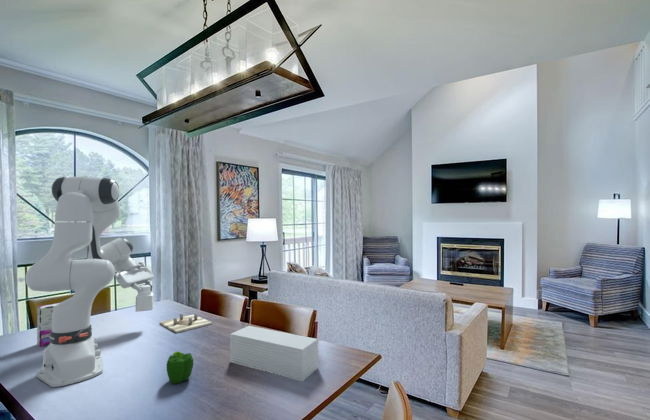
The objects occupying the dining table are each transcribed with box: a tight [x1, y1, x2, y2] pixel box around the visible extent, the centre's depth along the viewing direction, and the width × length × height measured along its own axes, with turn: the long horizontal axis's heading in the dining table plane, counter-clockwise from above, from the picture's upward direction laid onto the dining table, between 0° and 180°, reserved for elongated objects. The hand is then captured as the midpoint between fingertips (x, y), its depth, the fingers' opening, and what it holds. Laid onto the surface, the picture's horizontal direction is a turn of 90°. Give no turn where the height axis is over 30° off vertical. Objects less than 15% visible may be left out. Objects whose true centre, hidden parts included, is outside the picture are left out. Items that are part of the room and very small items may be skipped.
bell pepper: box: [166, 351, 194, 385], centre depth 108 cm, size 8×8×10 cm
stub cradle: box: [159, 313, 213, 334], centre depth 166 cm, size 20×18×4 cm
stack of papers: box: [229, 325, 319, 382], centre depth 120 cm, size 32×11×11 cm, turn 63°
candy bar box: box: [36, 302, 60, 348], centre depth 142 cm, size 11×5×16 cm, turn 143°
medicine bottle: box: [135, 283, 154, 313], centre depth 159 cm, size 7×7×12 cm
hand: (146, 289), depth 159 cm, fingers closed on medicine bottle, 6 cm apart
